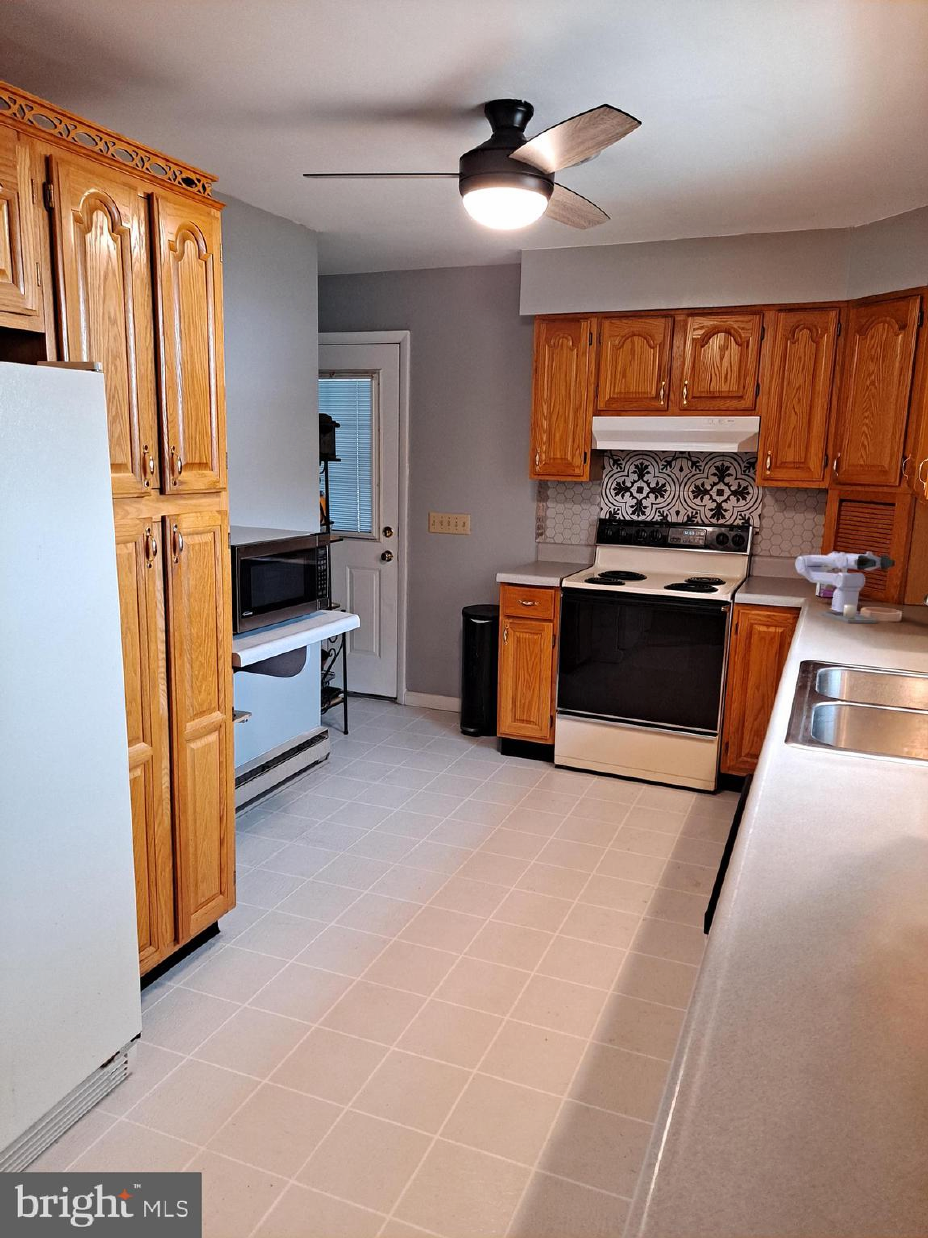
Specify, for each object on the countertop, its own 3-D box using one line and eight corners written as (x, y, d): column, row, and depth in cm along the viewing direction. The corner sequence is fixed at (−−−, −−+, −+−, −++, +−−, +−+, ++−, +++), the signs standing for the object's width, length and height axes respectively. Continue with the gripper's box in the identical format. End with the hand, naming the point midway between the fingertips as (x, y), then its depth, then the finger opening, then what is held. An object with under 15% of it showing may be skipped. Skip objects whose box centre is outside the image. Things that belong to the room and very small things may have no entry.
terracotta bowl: (853, 616, 338) (854, 607, 337) (884, 615, 340) (885, 606, 340) (875, 623, 325) (876, 613, 324) (908, 622, 328) (909, 613, 327)
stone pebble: (840, 617, 330) (842, 604, 329) (850, 617, 331) (851, 604, 330) (847, 619, 327) (848, 606, 326) (856, 619, 327) (858, 606, 326)
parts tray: (821, 616, 336) (821, 611, 335) (849, 616, 338) (850, 611, 338) (847, 624, 320) (847, 619, 320) (876, 624, 322) (877, 619, 322)
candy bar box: (818, 597, 381) (822, 559, 378) (815, 595, 386) (819, 558, 383) (845, 598, 380) (849, 560, 377) (841, 597, 385) (845, 559, 382)
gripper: (844, 551, 335) (867, 552, 322) (878, 551, 338) (902, 552, 325) (843, 569, 336) (866, 571, 323) (877, 569, 339) (901, 571, 326)
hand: (884, 563), depth 324 cm, fingers open, 7 cm apart
